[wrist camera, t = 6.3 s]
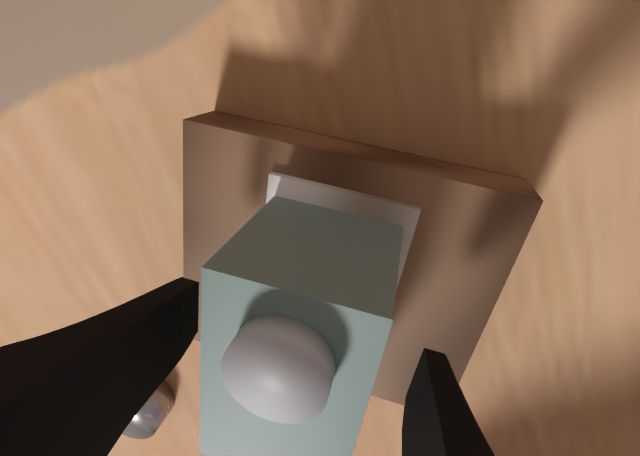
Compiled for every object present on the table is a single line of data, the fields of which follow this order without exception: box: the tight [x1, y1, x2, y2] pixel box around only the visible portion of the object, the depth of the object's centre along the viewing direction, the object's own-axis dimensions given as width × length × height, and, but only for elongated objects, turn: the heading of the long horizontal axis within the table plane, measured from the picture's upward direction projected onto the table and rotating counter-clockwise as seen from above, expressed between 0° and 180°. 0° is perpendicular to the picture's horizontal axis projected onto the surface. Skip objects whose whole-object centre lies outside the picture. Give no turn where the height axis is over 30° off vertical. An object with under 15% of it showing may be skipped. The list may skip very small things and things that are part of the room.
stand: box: [183, 111, 543, 406], centre depth 15 cm, size 12×10×2 cm
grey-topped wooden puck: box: [122, 380, 175, 439], centre depth 23 cm, size 4×4×2 cm
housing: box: [199, 196, 403, 456], centre depth 12 cm, size 7×4×6 cm, turn 171°
